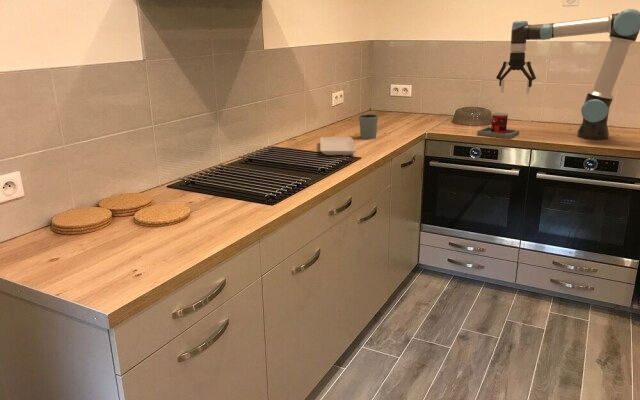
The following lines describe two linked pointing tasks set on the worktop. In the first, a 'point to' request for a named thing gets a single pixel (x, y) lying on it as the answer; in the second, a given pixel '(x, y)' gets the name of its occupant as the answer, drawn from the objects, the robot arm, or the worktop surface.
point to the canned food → (499, 122)
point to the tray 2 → (488, 133)
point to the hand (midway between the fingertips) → (514, 92)
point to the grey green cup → (368, 126)
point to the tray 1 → (337, 145)
